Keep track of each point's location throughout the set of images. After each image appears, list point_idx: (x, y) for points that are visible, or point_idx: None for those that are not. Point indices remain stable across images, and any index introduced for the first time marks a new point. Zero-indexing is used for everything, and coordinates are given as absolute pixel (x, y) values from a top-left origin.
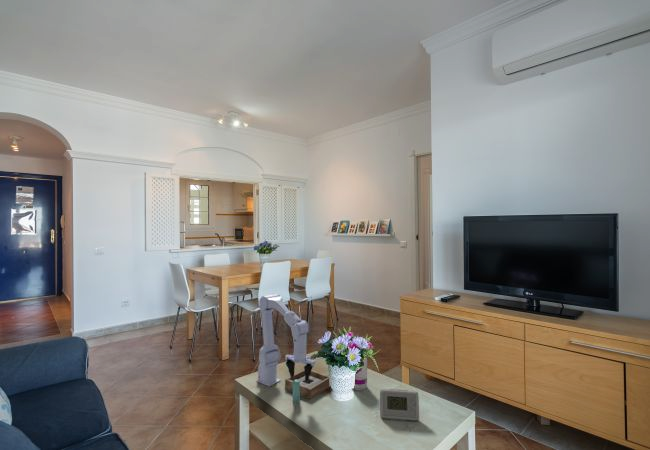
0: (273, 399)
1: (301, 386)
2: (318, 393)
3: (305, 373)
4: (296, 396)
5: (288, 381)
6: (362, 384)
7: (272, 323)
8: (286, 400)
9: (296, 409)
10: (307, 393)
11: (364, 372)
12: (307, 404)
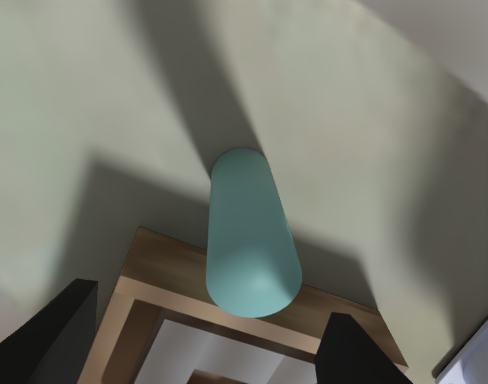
0: (435, 148)
1: None
2: (105, 310)
3: (26, 365)
4: (230, 171)
5: None
6: None
7: None
8: (322, 162)
9: (190, 47)
10: (160, 258)
11: None
12: (127, 151)
